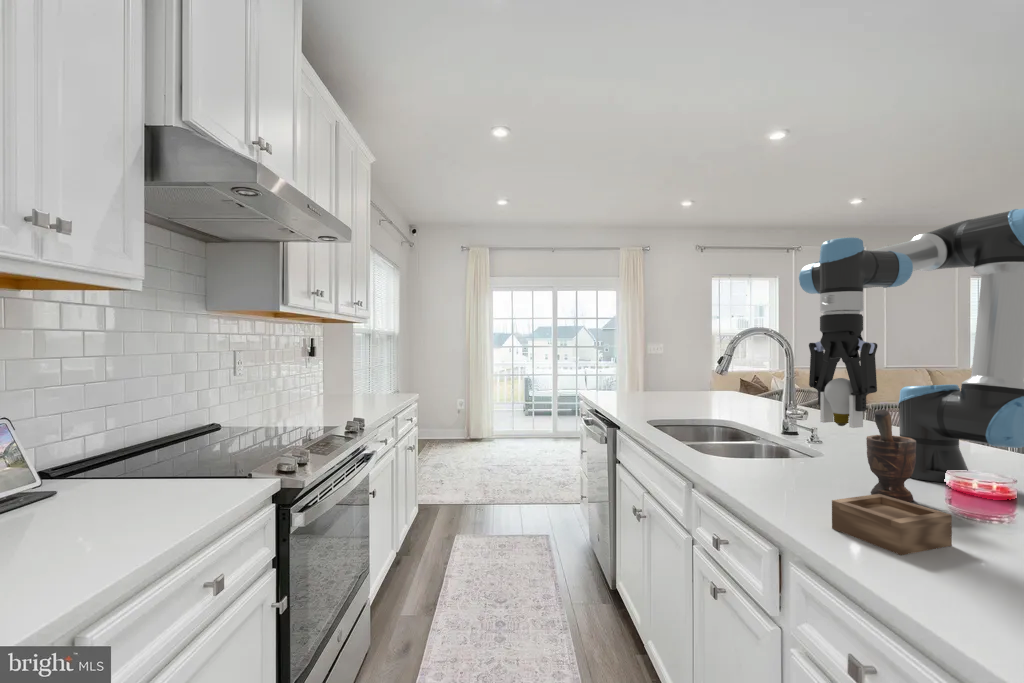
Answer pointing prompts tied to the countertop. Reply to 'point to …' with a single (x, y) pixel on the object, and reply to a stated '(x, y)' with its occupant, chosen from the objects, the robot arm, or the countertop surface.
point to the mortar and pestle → (890, 459)
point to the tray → (892, 523)
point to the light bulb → (839, 399)
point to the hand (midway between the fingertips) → (841, 424)
